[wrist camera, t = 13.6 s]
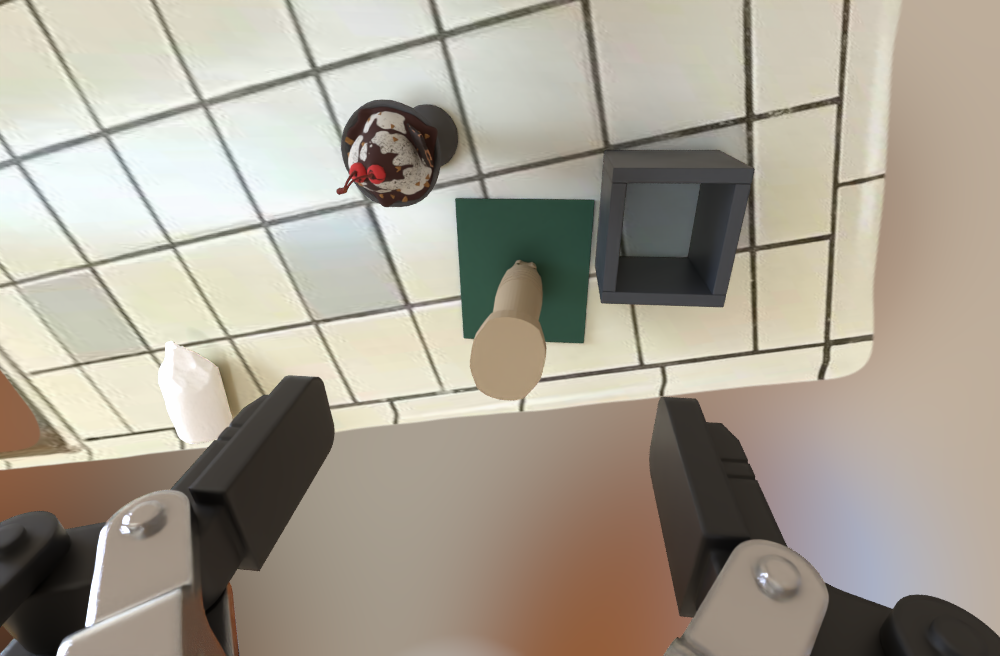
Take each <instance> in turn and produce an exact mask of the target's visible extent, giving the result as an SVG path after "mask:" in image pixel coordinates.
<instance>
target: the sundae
mask: <svg viewBox="0 0 1000 656" xmlns="http://www.w3.org/2000/svg"><path fill="white" fill-rule="evenodd" d="M457 143H458V135H457V129H456V127H455V124H454V122H453V120H452V119H451V117H450V116H449V115H448V114H447V113H446V112H445V111H444V110H442V109H441V108H439V107H436V106H433V105H419V106H417V107H414V108H411V107H409V106H407V105H404V104H402V103H399V102H396V101H393V100H374V101H371V102H368V103H366V104H365V105H363V106H361V107H360V108H359V109H358V110H356V111H355V112H354V113H353V115H352V116H351V117H350V119H349V120H348V122H347V124H346V126H345V128H344V131H343V135H342V142H341V151H342V157H343V161H344V164H345V167H346V169H347V171H348V173H349V175H350V176H349V178H348V179H347V181H346V183H345V186H344V188H339V189H337V194H339V195H340V194H344V193H346V192H347V190H348V188H349V186H350V185H351V184H352V183H353V182H354V183H355V184H356V186H357V187H358V188H359V189H360V190H361V191H362V192H363V193H364V194H365V195H366V196H367V197H368V198H370V199H371V200H372V201H375V202H377V203H379V204H381V205H382V206H384V207H404V206H410V205H413V204H416V203H417V202H419V201H421V200H423V199H424V198H425V197H427V196H428V194H429V193H430V192H431V190H432V189H433V187H434V185H435V184H436V181H437V178H438V175H439V171H440V166H442V165H444V164H446V163H447V162H448V161H449V160H450V159H451V158H452V157H453V155H454V154H455V151H456V148H457ZM351 178H352V181H351V182H350V183H349V184H348V182H349V181H350V179H351ZM347 184H348V185H347Z"/></svg>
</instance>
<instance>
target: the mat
mask: <svg viewBox="0 0 1000 656" xmlns="http://www.w3.org/2000/svg"><path fill="white" fill-rule="evenodd" d="M455 201H456V218H457V234H458V251H459V267H460V284H461V300H462V317H463V333H464V338H468V339H474V338H475V335H476V333H477V331H478V330H479V328H480V327H481V326H482V324H483V323H484V321H485V320H486V319H487V318H488V316H489V315H490V314H491V313H493V309H494V303H495V297H496V293H497V290H498V287H499V285H500V283H501V280H502V278H503V277H504V275H505V273H506V271H507V270H508V269H510V268H512V267H513V266H514V264H515V262H516V261H518V260H522V261H523V262H527V263H530V262H533V263H534V264H536V270H537V272H538V274H539V275H540V276H541V281H542V291H543V297H542V307H541V312H540V316H539V322H540V325H541V328H542V331H543V334H544V339H545V342H563V343H584V332H585V319H586V305H587V292H588V279H589V266H590V253H591V239H592V226H593V213H594V200H564V199H464V198H456V199H455Z"/></svg>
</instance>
